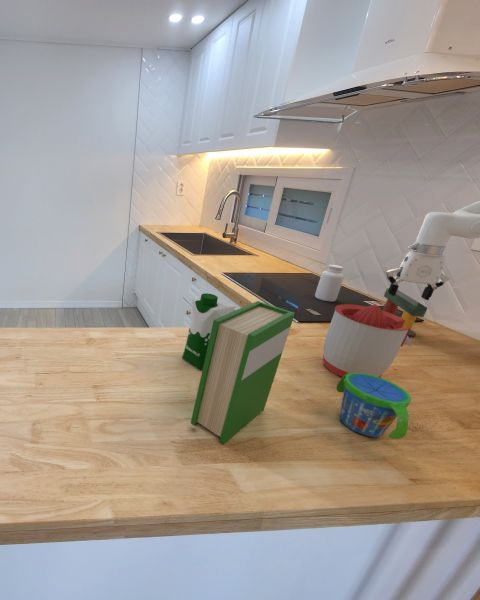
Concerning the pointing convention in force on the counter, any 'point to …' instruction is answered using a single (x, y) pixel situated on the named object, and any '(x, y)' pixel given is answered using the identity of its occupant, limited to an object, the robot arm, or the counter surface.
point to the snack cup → (373, 405)
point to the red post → (390, 307)
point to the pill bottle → (330, 283)
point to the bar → (407, 303)
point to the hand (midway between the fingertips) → (407, 296)
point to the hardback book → (240, 367)
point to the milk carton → (203, 327)
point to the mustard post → (408, 323)
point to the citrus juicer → (363, 340)
